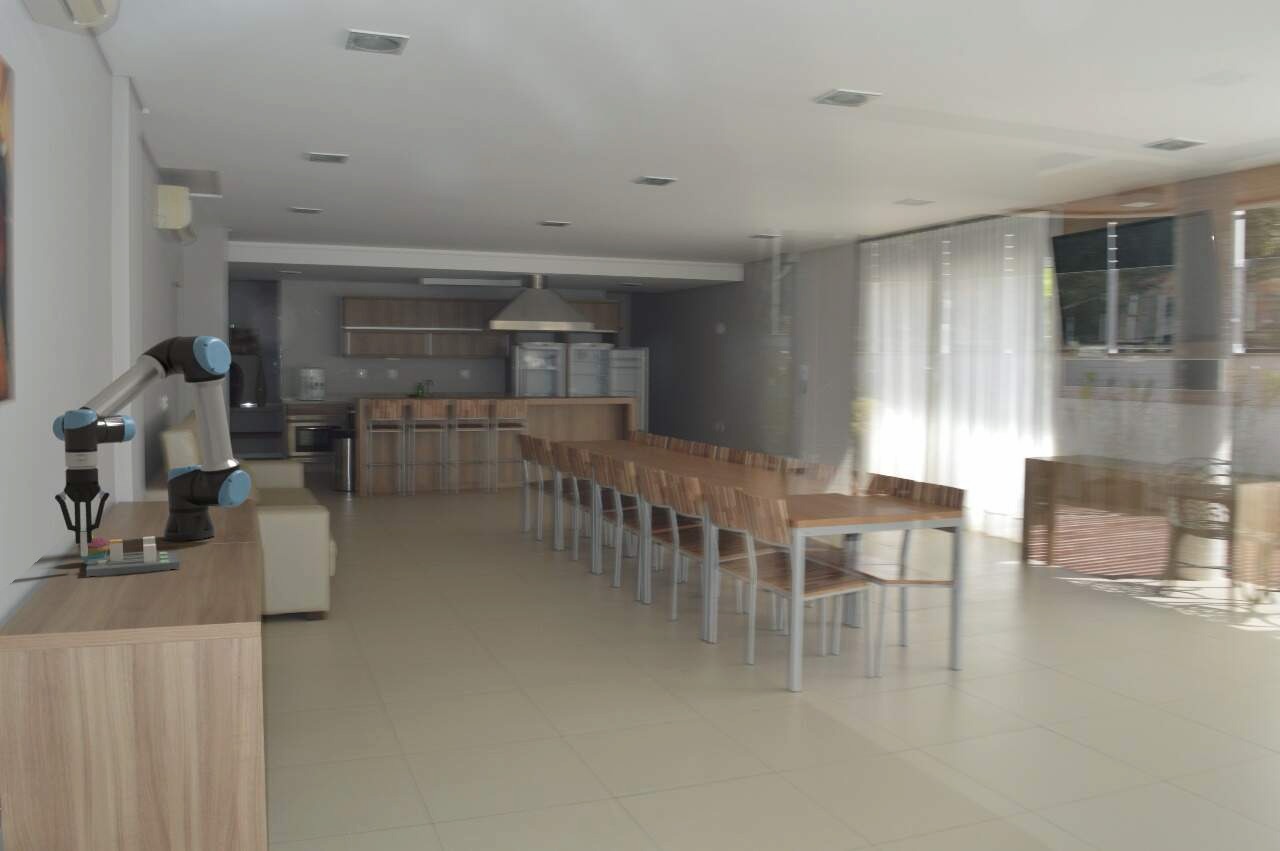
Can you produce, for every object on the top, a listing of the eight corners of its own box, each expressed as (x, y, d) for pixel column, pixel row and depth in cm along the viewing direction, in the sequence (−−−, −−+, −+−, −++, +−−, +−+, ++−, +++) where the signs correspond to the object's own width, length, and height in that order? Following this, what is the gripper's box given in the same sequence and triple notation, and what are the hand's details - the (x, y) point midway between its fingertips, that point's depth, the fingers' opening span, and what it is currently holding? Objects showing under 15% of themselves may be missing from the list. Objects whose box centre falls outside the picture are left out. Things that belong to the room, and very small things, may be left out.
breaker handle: (110, 560, 267) (109, 539, 267) (123, 559, 268) (122, 538, 268) (110, 562, 264) (109, 541, 264) (122, 561, 266) (122, 540, 265)
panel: (89, 565, 271) (88, 540, 271) (176, 558, 281) (176, 534, 281) (86, 578, 255) (85, 551, 255) (179, 569, 265) (178, 544, 265)
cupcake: (70, 564, 273) (69, 521, 272) (99, 559, 280) (98, 517, 279) (90, 567, 269) (88, 524, 268) (119, 562, 276) (117, 519, 276)
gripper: (52, 469, 255) (55, 560, 256) (109, 467, 261) (111, 555, 262) (54, 467, 262) (57, 555, 263) (109, 465, 268) (112, 551, 269)
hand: (84, 555), depth 263 cm, fingers closed
